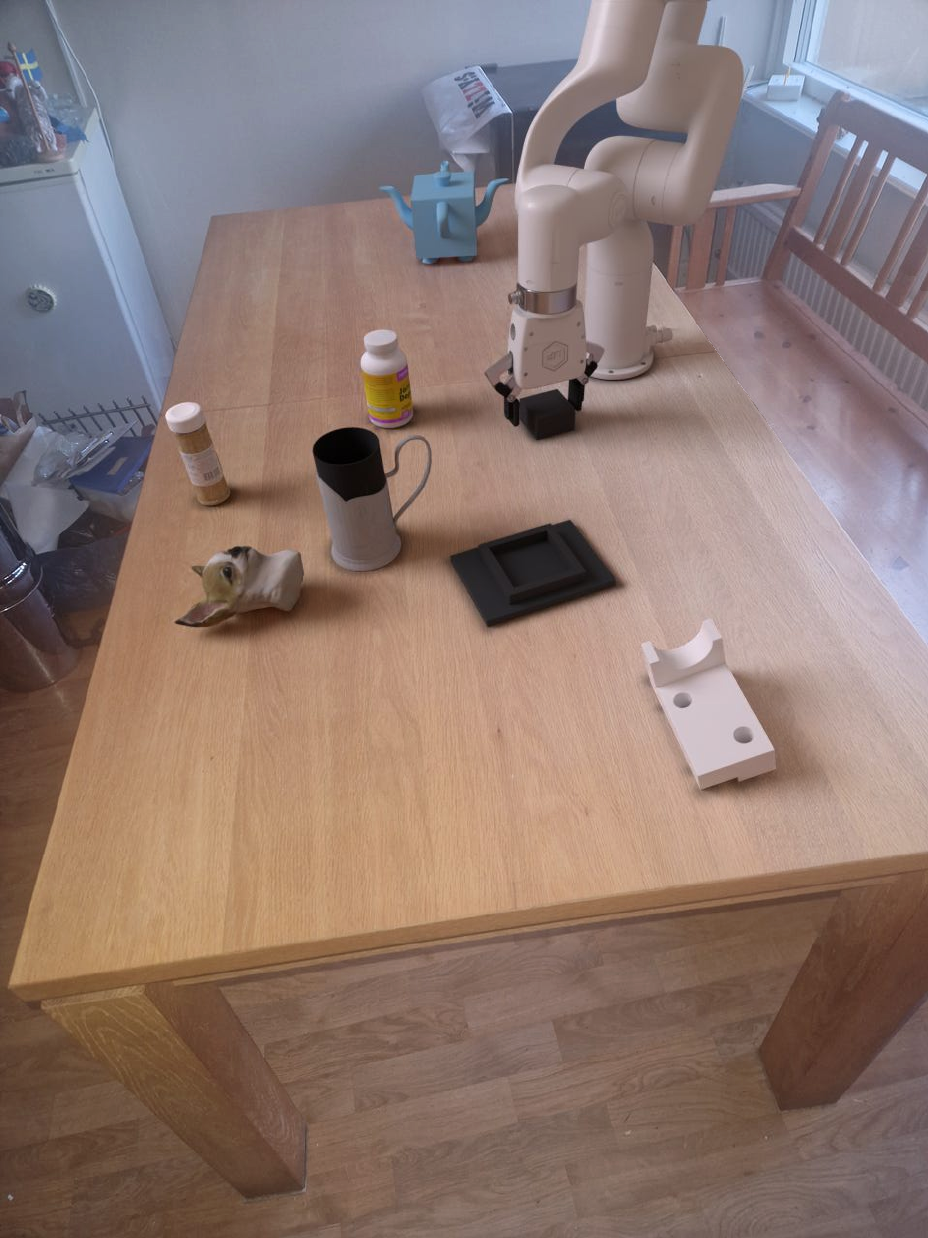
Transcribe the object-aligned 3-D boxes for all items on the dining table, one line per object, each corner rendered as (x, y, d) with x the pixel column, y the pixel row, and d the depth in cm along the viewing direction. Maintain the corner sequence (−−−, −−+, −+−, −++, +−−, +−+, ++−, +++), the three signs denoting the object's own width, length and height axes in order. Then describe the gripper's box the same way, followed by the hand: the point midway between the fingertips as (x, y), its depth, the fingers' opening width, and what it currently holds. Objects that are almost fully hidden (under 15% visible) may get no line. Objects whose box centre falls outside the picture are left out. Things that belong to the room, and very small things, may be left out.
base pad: (569, 525, 100) (570, 509, 98) (615, 585, 92) (617, 569, 90) (450, 561, 97) (448, 545, 95) (487, 627, 89) (486, 611, 87)
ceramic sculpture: (289, 574, 84) (152, 589, 85) (311, 630, 90) (182, 644, 91) (301, 511, 91) (174, 526, 92) (320, 567, 97) (201, 581, 98)
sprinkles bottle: (226, 483, 111) (196, 396, 101) (234, 500, 108) (205, 413, 98) (194, 493, 110) (161, 407, 100) (201, 511, 107) (168, 424, 97)
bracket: (652, 687, 83) (640, 644, 77) (718, 664, 82) (711, 618, 76) (701, 794, 74) (692, 753, 68) (776, 769, 73) (772, 725, 67)
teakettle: (446, 279, 153) (440, 197, 142) (383, 255, 163) (373, 176, 152) (514, 247, 161) (512, 167, 151) (449, 226, 171) (444, 150, 161)
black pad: (556, 409, 119) (557, 388, 116) (574, 429, 115) (575, 408, 112) (519, 419, 117) (519, 398, 115) (536, 440, 113) (536, 418, 111)
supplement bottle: (407, 431, 117) (396, 349, 108) (364, 428, 118) (350, 347, 109) (418, 406, 122) (409, 326, 112) (376, 404, 123) (364, 324, 114)
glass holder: (322, 537, 101) (297, 436, 91) (426, 505, 105) (414, 403, 94) (343, 579, 96) (319, 477, 85) (452, 544, 99) (442, 440, 88)
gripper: (495, 319, 98) (498, 441, 110) (621, 293, 101) (610, 413, 113) (473, 296, 103) (478, 415, 115) (594, 272, 106) (586, 389, 118)
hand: (544, 414), depth 114 cm, fingers open, 9 cm apart
